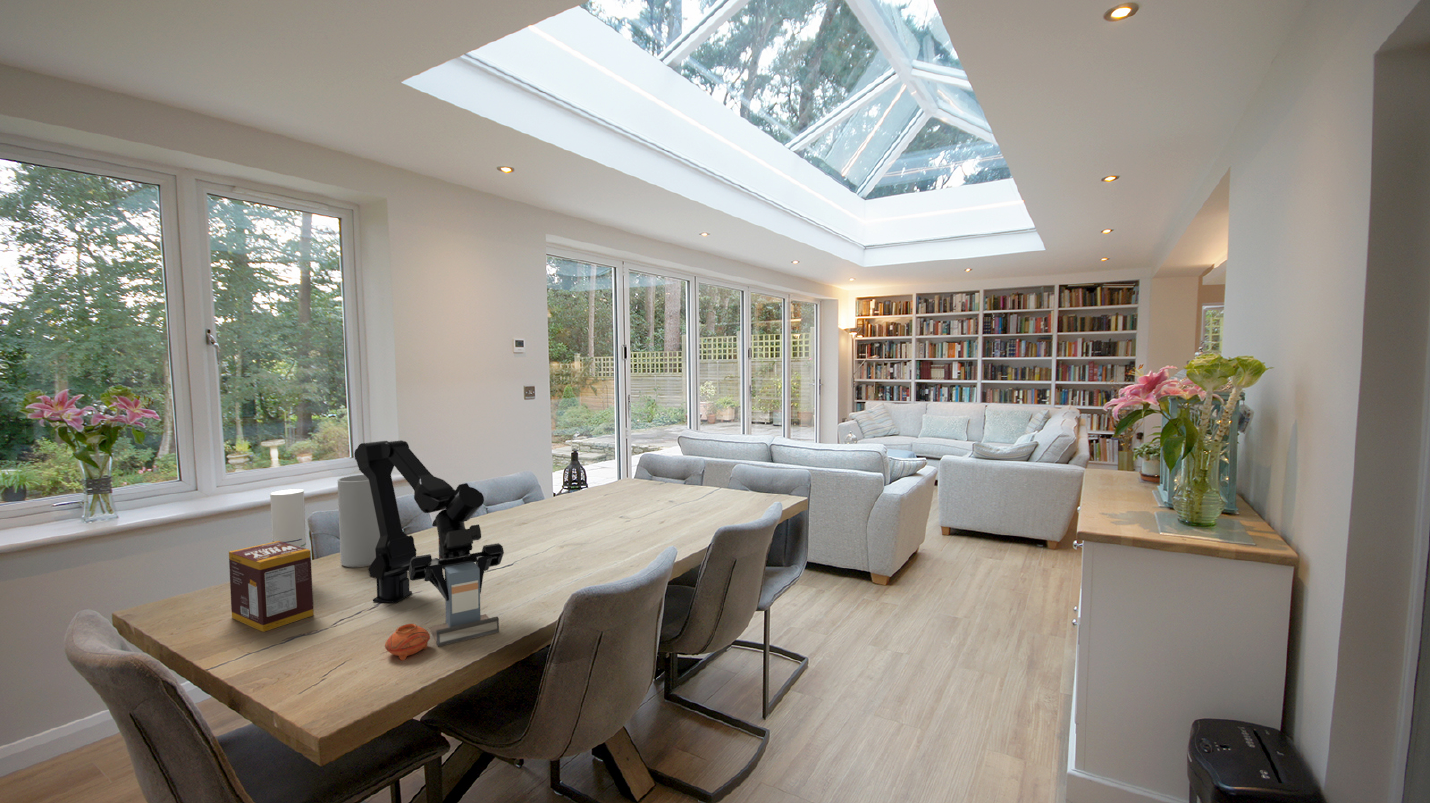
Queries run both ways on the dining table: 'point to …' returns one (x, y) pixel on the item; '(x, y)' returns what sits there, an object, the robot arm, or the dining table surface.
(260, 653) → the dining table surface
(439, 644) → the plate
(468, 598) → the blue-grey carton
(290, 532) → the cylindrical container
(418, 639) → the pot
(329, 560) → the dining table surface
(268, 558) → the supplement box
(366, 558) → the cylinder vase
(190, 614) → the dining table surface
